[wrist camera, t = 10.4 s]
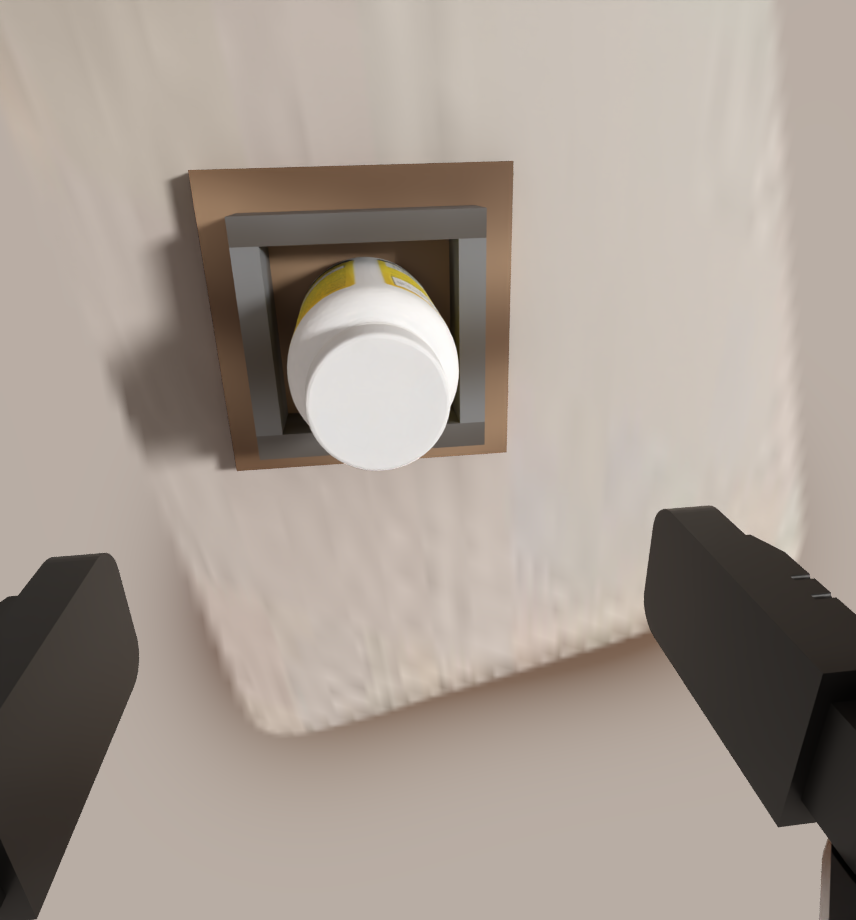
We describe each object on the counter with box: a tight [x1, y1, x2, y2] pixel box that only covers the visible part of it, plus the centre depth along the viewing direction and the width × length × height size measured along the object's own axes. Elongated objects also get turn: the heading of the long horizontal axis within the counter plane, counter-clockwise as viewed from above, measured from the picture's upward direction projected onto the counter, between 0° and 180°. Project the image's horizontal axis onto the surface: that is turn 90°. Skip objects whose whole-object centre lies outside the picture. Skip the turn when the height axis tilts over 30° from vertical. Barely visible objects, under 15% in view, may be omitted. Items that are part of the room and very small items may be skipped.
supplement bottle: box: [287, 257, 459, 471], centre depth 22 cm, size 5×5×10 cm
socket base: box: [188, 161, 513, 471], centre depth 26 cm, size 12×12×4 cm
